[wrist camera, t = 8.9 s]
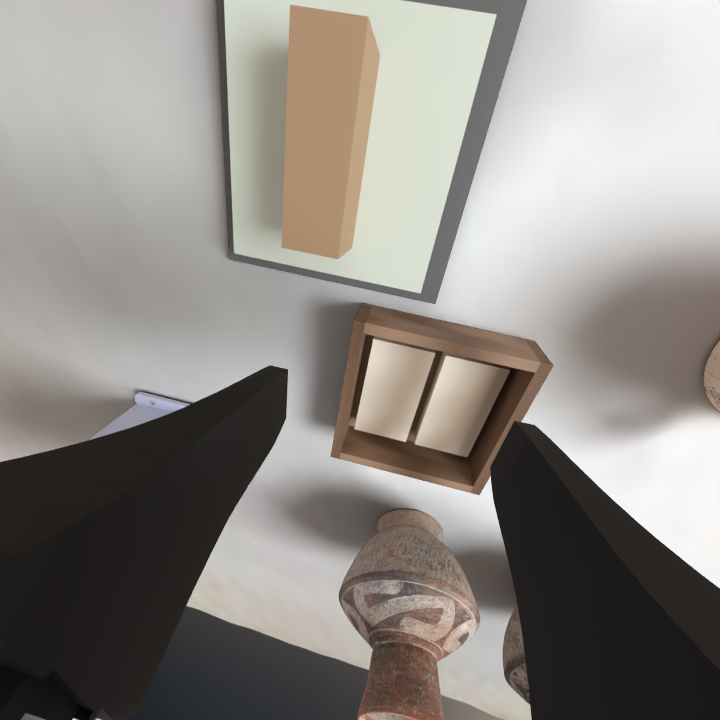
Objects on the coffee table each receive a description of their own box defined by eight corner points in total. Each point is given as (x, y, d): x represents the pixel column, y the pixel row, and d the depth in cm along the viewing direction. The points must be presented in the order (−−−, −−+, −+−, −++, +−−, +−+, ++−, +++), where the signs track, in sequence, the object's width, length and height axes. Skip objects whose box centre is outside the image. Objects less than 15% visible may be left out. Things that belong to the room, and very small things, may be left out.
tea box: (341, 425, 23) (330, 456, 21) (364, 300, 18) (353, 320, 16) (472, 458, 23) (479, 495, 20) (532, 338, 18) (553, 365, 15)
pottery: (381, 469, 24) (352, 672, 14) (663, 584, 25) (831, 858, 15) (337, 540, 30) (293, 721, 20) (568, 632, 31) (642, 855, 21)
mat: (232, 258, 18) (229, 259, 18) (219, -53, 12) (213, -60, 12) (434, 301, 17) (435, 303, 17) (528, -9, 11) (531, -15, 11)
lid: (245, 249, 17) (198, 265, 14) (239, -9, 12) (163, -92, 9) (420, 287, 17) (420, 313, 13) (490, 30, 12) (521, -43, 8)
